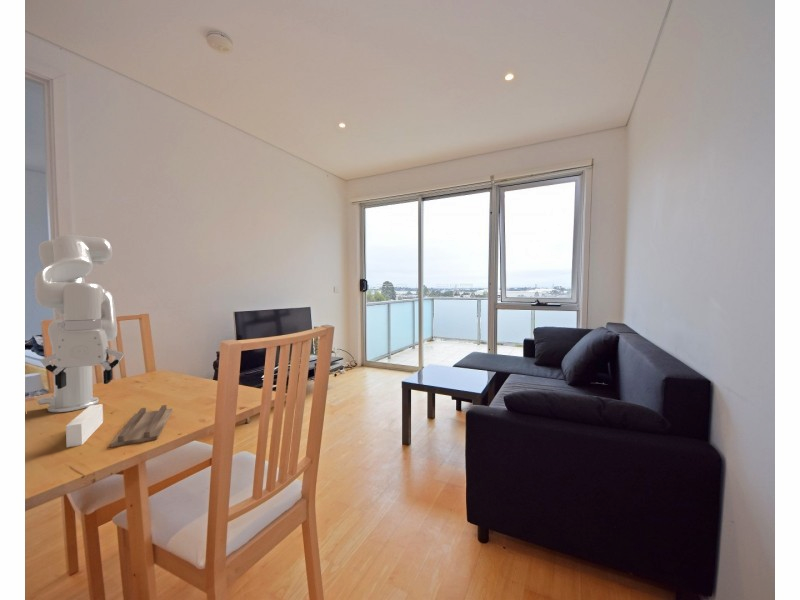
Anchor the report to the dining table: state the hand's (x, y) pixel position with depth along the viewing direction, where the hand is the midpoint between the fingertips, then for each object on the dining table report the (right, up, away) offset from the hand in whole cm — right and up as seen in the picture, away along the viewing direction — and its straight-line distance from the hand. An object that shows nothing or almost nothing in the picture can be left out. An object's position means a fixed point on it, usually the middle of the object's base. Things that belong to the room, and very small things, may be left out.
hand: (85, 385), depth 90 cm
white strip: (-1, -15, +1) cm, 15 cm away
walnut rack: (+13, -14, +5) cm, 20 cm away
